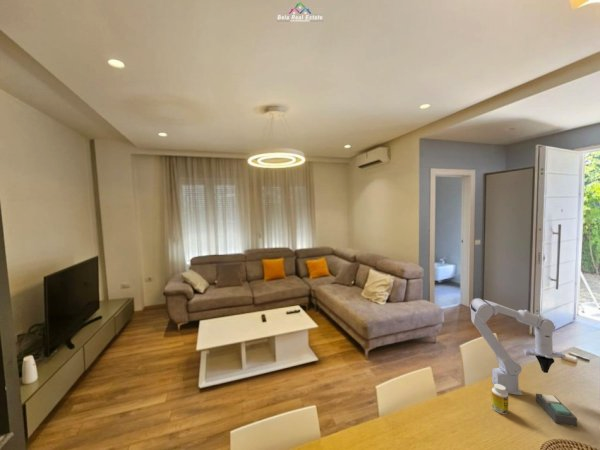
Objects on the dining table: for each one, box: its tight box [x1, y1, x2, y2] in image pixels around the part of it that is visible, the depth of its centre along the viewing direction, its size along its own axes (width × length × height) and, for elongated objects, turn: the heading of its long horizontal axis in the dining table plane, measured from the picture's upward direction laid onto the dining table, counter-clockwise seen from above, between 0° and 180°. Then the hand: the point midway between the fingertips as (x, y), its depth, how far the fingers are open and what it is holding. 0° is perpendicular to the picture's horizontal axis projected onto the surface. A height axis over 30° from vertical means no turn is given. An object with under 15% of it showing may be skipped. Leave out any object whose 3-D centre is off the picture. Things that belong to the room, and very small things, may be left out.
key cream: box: [541, 393, 561, 404], centre depth 108 cm, size 4×4×2 cm
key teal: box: [550, 403, 571, 415], centre depth 103 cm, size 4×4×2 cm
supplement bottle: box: [491, 384, 509, 415], centre depth 108 cm, size 6×6×10 cm
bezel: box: [535, 393, 578, 425], centre depth 105 cm, size 7×12×2 cm, turn 164°
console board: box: [535, 398, 578, 427], centre depth 105 cm, size 7×12×1 cm, turn 164°
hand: (544, 371), depth 116 cm, fingers closed
